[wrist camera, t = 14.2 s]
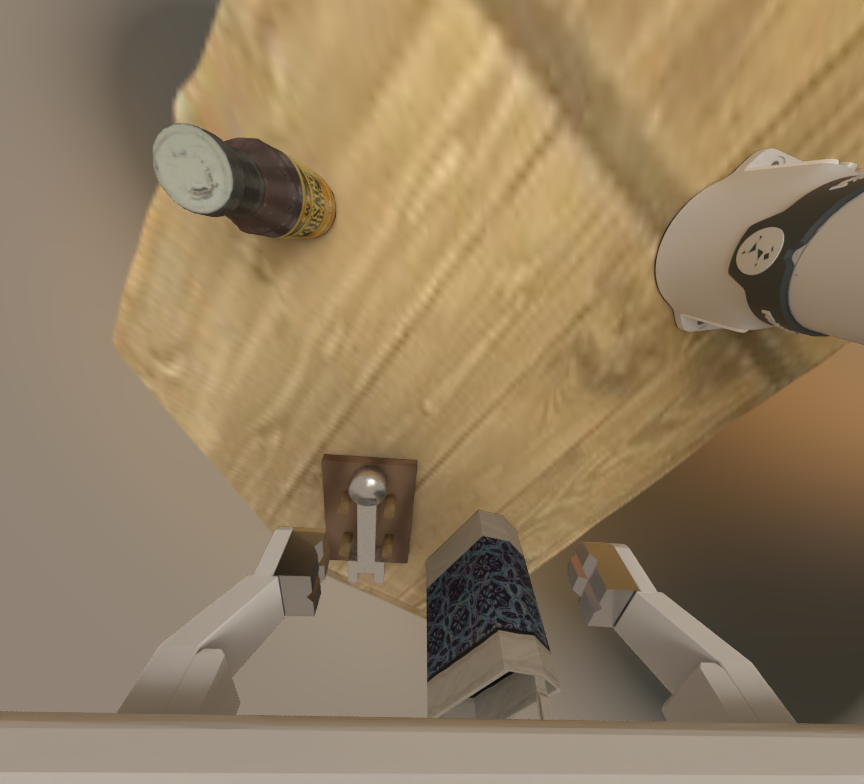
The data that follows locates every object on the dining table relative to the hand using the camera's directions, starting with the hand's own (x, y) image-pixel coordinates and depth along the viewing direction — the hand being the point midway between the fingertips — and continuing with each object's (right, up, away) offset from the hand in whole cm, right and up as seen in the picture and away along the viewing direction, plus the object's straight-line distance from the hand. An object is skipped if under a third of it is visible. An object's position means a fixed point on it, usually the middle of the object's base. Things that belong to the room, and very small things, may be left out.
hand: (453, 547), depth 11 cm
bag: (+6, -23, +49) cm, 54 cm away
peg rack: (-11, -15, +44) cm, 48 cm away
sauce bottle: (-14, +25, +24) cm, 38 cm away
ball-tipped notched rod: (-11, -15, +43) cm, 47 cm away
